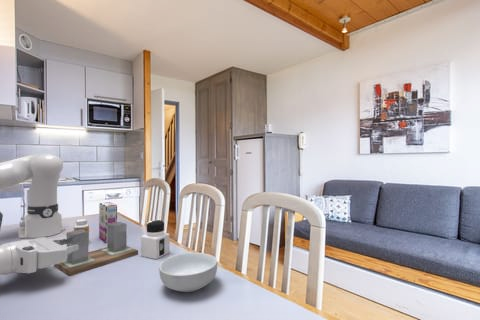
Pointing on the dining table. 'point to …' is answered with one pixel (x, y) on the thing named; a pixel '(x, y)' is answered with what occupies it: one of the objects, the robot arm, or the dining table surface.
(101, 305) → the dining table surface
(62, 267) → the wooden board
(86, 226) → the supplement bottle
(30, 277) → the dining table surface
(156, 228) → the container
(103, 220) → the candy bar box
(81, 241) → the loose billet
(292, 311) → the dining table surface
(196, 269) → the cereal bowl
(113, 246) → the billet
